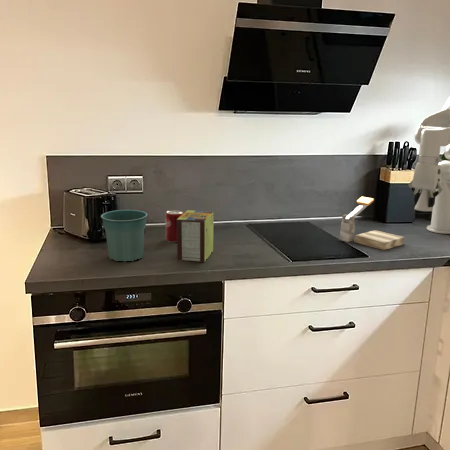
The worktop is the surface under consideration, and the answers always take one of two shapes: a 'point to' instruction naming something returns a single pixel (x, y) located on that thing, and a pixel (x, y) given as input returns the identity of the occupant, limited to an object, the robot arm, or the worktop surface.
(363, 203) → the lever
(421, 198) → the flask
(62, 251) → the worktop surface
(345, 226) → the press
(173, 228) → the soda can
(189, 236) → the protein box
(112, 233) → the flower pot
